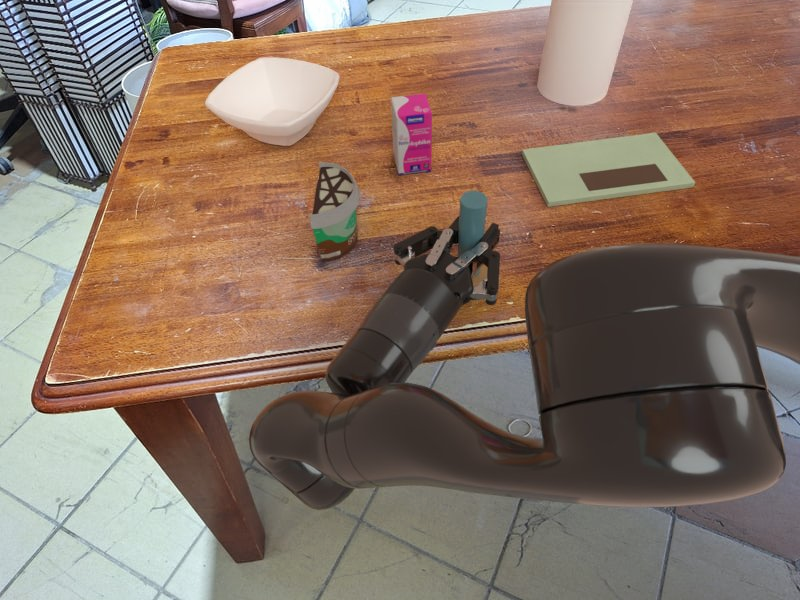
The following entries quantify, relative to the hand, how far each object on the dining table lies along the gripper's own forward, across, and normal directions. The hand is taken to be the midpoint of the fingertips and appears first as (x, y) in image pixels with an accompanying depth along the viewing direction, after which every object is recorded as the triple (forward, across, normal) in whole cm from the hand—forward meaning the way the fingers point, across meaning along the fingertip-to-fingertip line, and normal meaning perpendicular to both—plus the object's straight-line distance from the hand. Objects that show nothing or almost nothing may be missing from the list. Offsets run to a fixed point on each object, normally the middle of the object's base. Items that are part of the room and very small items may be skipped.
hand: (481, 224), depth 64 cm
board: (+33, -7, +12) cm, 36 cm away
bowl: (+16, +48, +12) cm, 52 cm away
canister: (+56, +8, +12) cm, 57 cm away
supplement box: (+19, +22, +12) cm, 31 cm away
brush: (-3, 0, +9) cm, 9 cm away
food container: (-2, +21, +12) cm, 24 cm away
